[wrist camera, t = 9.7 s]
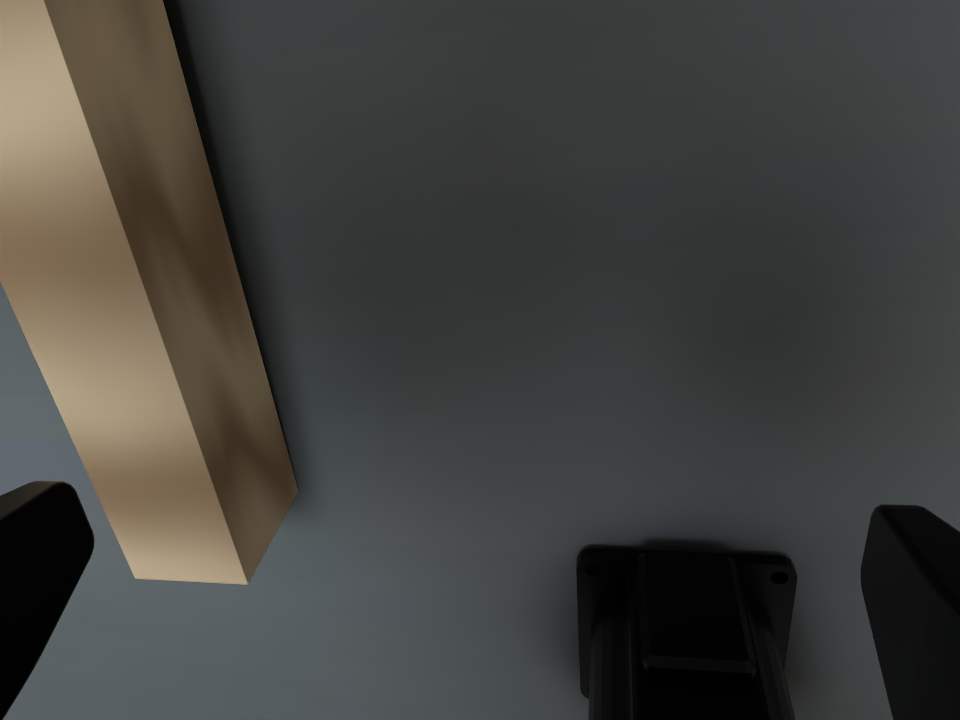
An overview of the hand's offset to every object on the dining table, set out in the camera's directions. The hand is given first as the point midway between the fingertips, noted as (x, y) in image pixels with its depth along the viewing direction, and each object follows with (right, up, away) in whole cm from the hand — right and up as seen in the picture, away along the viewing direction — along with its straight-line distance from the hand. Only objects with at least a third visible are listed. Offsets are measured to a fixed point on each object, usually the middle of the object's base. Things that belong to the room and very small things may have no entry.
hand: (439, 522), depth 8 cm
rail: (-8, +6, +11) cm, 15 cm away
